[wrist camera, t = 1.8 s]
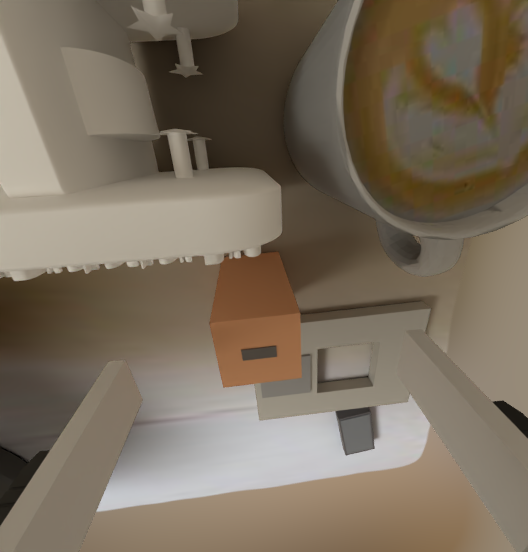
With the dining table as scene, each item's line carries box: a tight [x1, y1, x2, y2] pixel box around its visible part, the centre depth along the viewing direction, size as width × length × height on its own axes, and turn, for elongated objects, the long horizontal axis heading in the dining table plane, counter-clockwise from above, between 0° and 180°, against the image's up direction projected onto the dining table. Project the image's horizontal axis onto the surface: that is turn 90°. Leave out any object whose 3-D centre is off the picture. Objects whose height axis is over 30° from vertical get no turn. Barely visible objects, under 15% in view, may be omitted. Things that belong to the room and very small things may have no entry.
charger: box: [210, 252, 302, 387], centre depth 17 cm, size 4×4×9 cm
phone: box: [336, 407, 375, 455], centre depth 30 cm, size 4×7×1 cm, turn 15°
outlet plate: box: [254, 301, 431, 421], centre depth 25 cm, size 16×12×1 cm
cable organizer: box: [0, 0, 282, 281], centre depth 10 cm, size 15×11×12 cm
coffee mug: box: [284, 0, 528, 277], centre depth 13 cm, size 13×10×10 cm
